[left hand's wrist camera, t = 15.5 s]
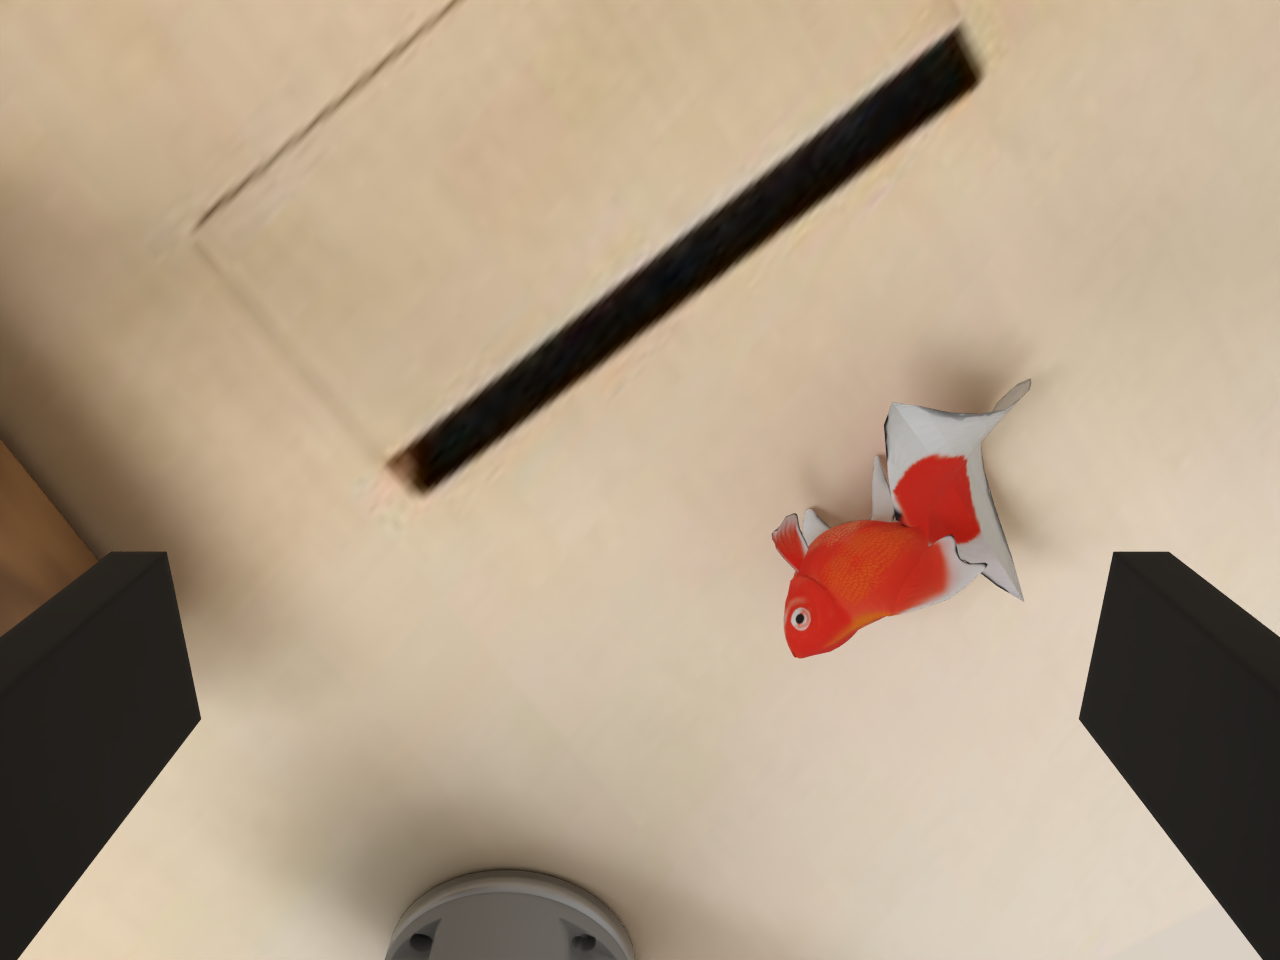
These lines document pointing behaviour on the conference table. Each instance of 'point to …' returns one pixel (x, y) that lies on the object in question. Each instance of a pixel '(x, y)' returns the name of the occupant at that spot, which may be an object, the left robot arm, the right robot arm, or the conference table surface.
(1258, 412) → the conference table surface
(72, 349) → the conference table surface
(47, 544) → the box
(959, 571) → the fish
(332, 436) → the conference table surface
